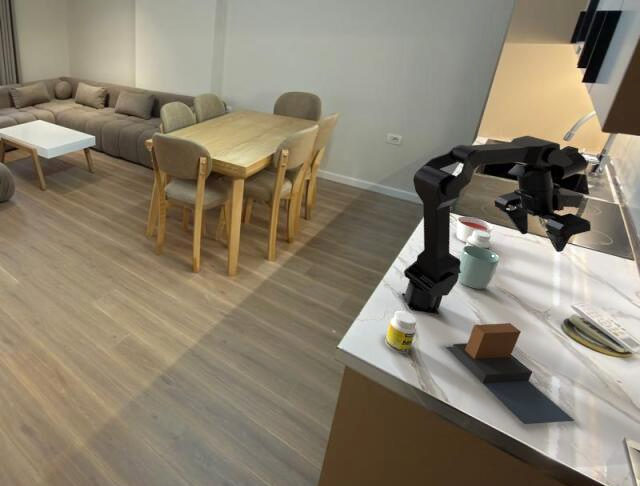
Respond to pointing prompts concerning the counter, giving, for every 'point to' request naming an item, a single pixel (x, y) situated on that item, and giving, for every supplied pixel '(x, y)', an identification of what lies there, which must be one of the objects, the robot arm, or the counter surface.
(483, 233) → the pill bottle
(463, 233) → the candle
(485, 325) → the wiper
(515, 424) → the counter surface
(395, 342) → the supplement bottle
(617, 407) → the counter surface
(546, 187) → the robot arm
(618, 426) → the counter surface
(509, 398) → the mat
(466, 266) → the cup
